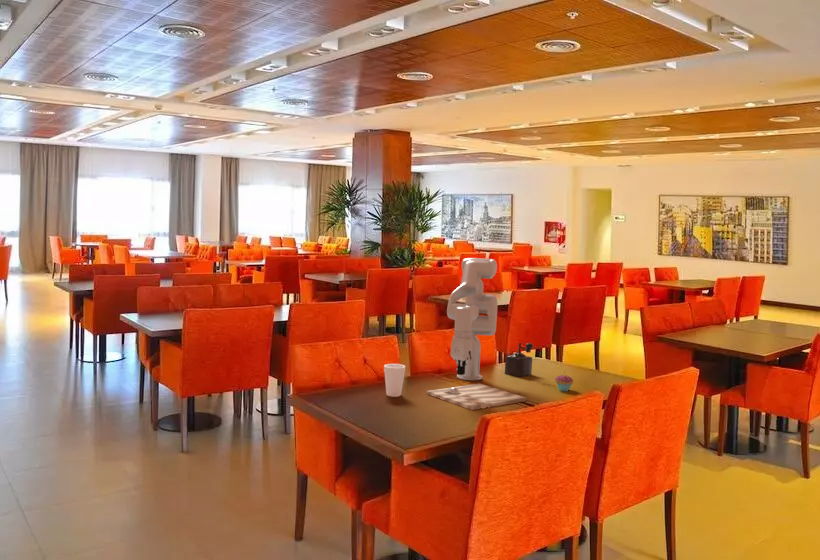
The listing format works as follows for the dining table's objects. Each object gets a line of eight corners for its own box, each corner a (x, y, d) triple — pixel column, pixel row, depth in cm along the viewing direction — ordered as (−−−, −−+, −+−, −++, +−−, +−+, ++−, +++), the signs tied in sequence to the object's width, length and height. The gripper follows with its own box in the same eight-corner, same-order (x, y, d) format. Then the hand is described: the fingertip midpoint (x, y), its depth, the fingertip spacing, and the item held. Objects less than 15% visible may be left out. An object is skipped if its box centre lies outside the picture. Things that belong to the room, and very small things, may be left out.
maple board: (426, 394, 316) (427, 390, 316) (479, 386, 335) (479, 383, 335) (471, 410, 292) (472, 406, 292) (525, 400, 312) (526, 397, 312)
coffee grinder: (503, 373, 367) (505, 339, 365) (515, 371, 375) (517, 337, 373) (528, 379, 356) (530, 344, 355) (540, 376, 364) (542, 341, 363)
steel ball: (449, 396, 315) (446, 389, 314) (455, 392, 317) (453, 385, 316) (454, 399, 312) (452, 391, 311) (461, 395, 314) (459, 387, 313)
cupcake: (572, 392, 331) (574, 367, 330) (554, 391, 332) (555, 366, 331) (572, 388, 339) (573, 364, 338) (554, 387, 341) (555, 362, 340)
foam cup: (393, 398, 306) (394, 369, 305) (378, 394, 312) (379, 365, 311) (408, 395, 313) (409, 366, 312) (393, 391, 319) (394, 362, 318)
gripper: (445, 332, 319) (443, 371, 321) (467, 338, 307) (465, 379, 309) (458, 330, 323) (456, 369, 325) (480, 336, 312) (478, 377, 314)
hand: (460, 374), depth 317 cm, fingers closed
